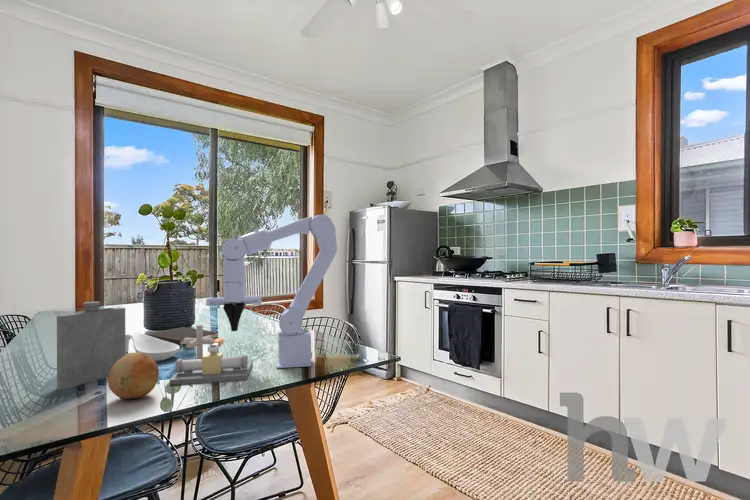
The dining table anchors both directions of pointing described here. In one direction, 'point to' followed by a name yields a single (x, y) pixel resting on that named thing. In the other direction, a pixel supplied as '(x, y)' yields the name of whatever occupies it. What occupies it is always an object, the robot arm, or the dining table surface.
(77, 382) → the hip flask
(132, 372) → the onion
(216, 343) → the valve lever
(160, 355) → the spoon rest
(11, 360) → the dining table surface
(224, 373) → the board
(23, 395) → the dining table surface
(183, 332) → the hardcover book
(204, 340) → the pipe connector
